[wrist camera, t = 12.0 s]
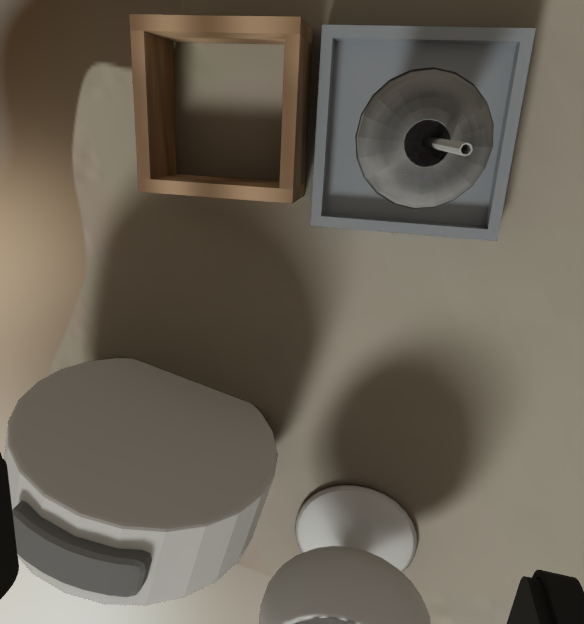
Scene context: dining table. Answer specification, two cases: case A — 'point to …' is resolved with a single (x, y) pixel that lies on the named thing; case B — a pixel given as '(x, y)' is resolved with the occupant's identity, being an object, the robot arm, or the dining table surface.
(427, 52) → the tray
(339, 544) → the chalice
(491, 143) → the beverage cup
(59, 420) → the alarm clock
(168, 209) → the dining table surface
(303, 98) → the holder
